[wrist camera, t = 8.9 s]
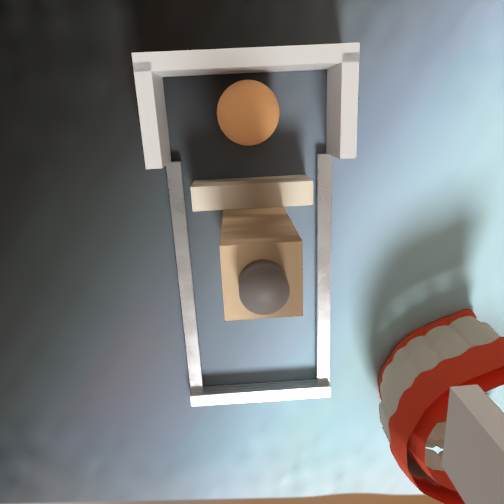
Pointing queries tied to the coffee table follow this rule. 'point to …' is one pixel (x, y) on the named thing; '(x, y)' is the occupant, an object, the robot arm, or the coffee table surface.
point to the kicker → (258, 242)
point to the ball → (248, 112)
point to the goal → (249, 61)
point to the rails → (323, 289)
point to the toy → (434, 392)
